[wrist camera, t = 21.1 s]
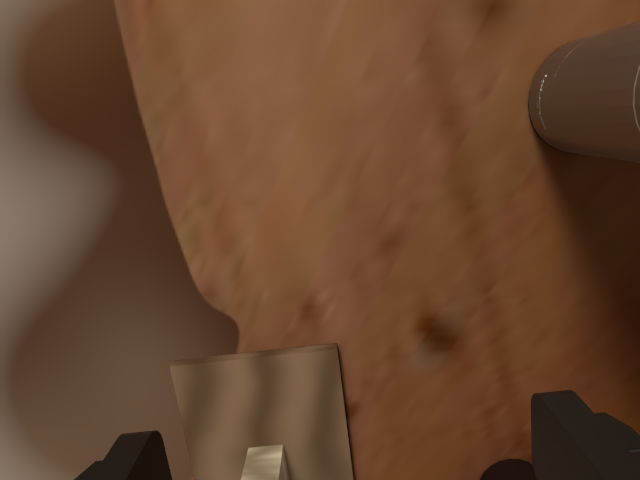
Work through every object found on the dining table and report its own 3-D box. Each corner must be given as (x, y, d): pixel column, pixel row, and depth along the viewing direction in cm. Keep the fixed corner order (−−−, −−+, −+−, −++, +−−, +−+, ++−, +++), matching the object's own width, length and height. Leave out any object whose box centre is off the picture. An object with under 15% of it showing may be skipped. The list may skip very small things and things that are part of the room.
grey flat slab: (336, 343, 46) (337, 349, 45) (356, 499, 50) (356, 507, 49) (173, 360, 46) (169, 366, 45) (206, 512, 51) (203, 522, 50)
